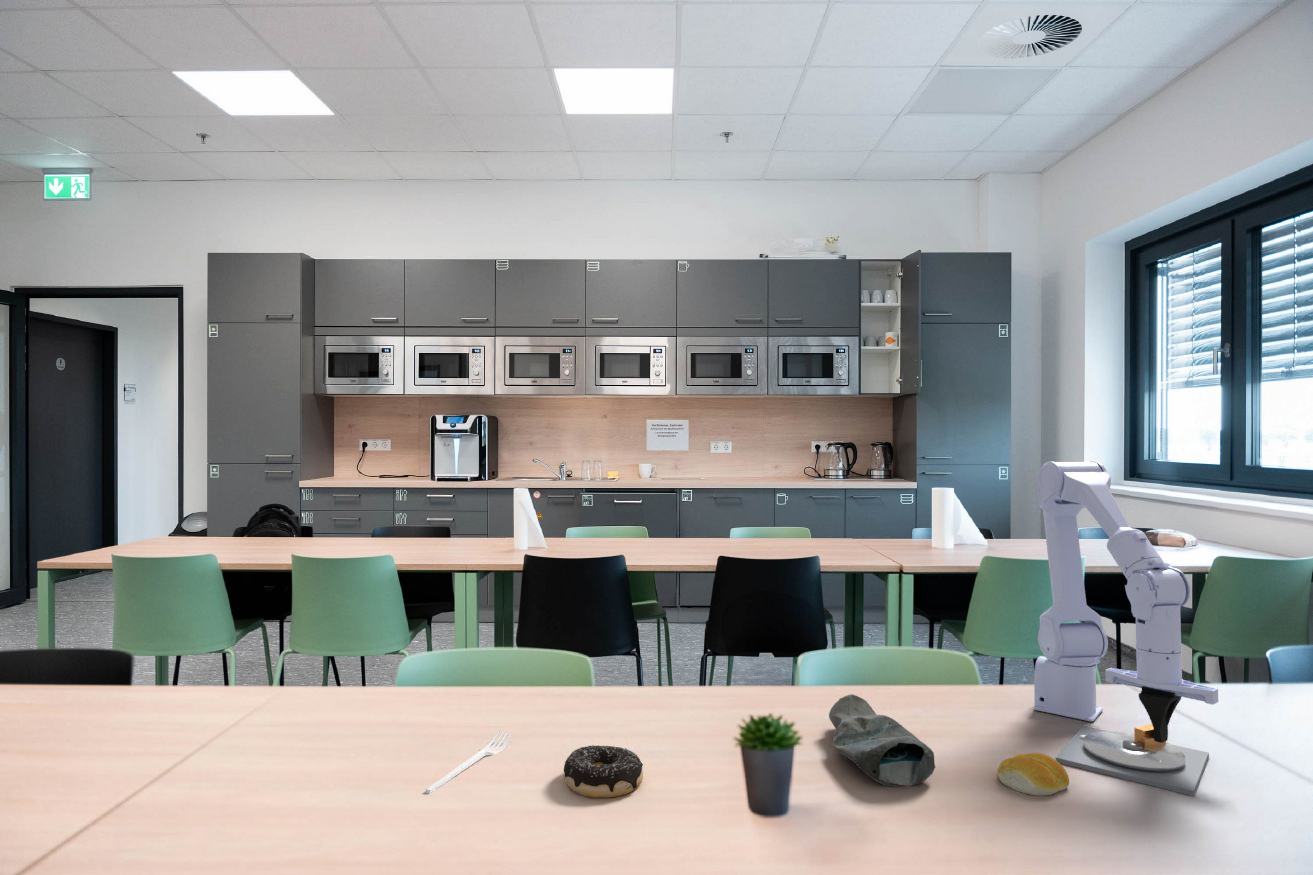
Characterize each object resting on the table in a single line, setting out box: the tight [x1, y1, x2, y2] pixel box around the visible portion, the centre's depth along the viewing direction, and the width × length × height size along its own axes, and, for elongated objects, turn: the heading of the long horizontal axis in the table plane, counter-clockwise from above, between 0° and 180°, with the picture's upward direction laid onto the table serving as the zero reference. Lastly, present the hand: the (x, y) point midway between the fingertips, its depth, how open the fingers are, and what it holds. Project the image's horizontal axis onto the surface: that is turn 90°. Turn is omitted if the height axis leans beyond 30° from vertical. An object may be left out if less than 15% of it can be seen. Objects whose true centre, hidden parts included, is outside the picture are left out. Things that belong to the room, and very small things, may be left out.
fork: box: [424, 730, 512, 795], centre depth 115 cm, size 3×20×2 cm, turn 160°
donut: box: [563, 744, 644, 799], centre depth 110 cm, size 11×12×4 cm
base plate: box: [1055, 725, 1210, 797], centre depth 117 cm, size 17×17×1 cm
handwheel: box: [1083, 723, 1185, 771], centre depth 117 cm, size 13×13×3 cm
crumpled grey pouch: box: [828, 693, 936, 787], centre depth 119 cm, size 13×7×25 cm
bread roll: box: [996, 752, 1070, 797], centre depth 109 cm, size 8×9×4 cm
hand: (1160, 740), depth 117 cm, fingers closed, pressing on handwheel
